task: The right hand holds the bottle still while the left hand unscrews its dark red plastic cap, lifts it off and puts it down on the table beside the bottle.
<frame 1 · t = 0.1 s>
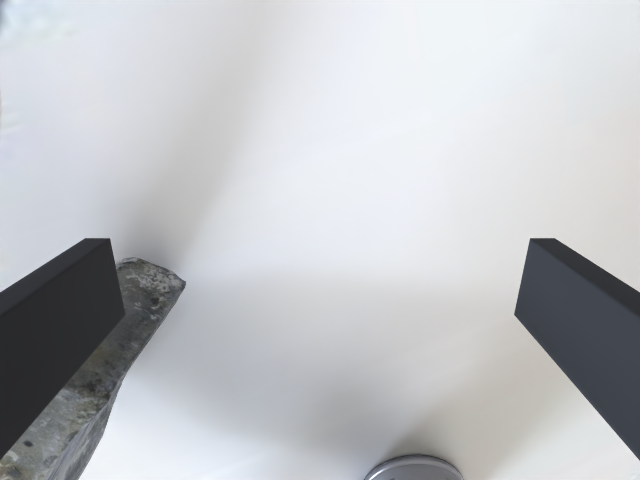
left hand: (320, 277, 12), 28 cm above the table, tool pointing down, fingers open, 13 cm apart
concrete block: (122, 335, 47), on the table
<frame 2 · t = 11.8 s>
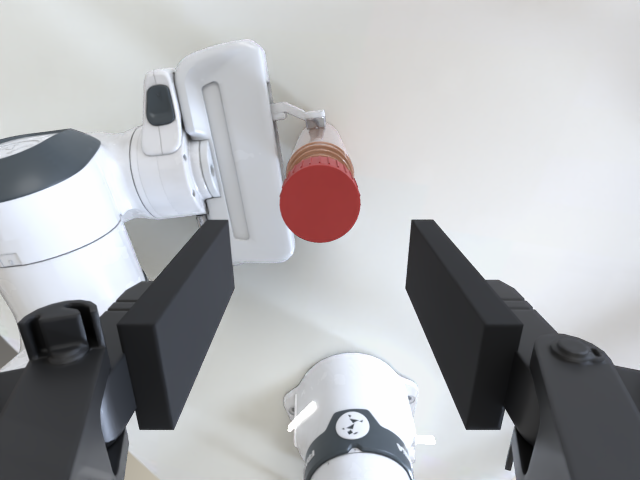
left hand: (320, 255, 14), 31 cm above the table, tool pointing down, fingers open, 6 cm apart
right hand: (329, 151, 36), fingers closed on bottle, 5 cm apart
bottle: (319, 143, 43), on the table, touching right hand
cap: (319, 203, 20), point 24 cm above the table, screwed on, not yet turned
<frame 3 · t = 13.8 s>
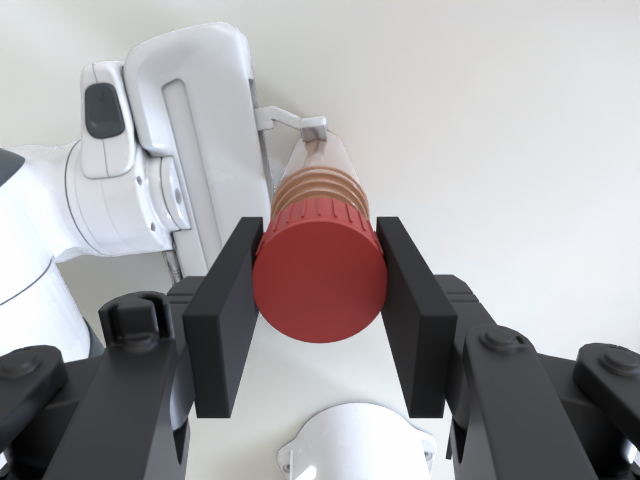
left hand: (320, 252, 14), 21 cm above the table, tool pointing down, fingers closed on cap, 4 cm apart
right hand: (332, 169, 28), fingers closed on bottle, 5 cm apart
bottle: (319, 157, 34), on the table, touching right hand
cap: (319, 281, 12), point 24 cm above the table, screwed on, not yet turned, touching left hand
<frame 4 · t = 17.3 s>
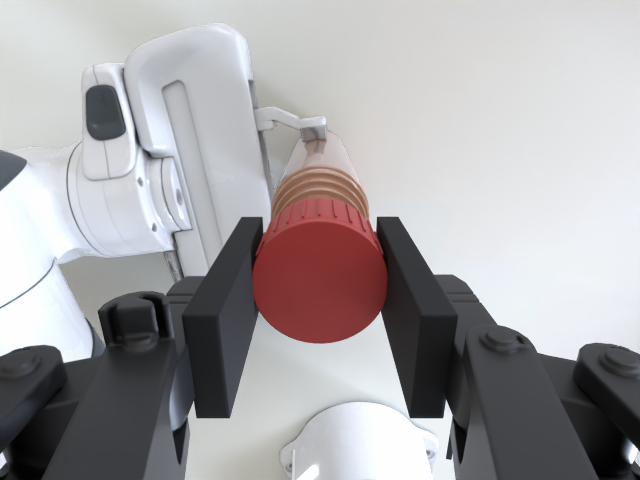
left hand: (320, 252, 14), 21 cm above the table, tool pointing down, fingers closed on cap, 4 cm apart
right hand: (331, 169, 28), fingers closed on bottle, 5 cm apart
bottle: (319, 157, 34), on the table, touching right hand
cap: (319, 281, 12), point 24 cm above the table, turned 106° so far, risen 0.1 cm, still on its thread, touching left hand
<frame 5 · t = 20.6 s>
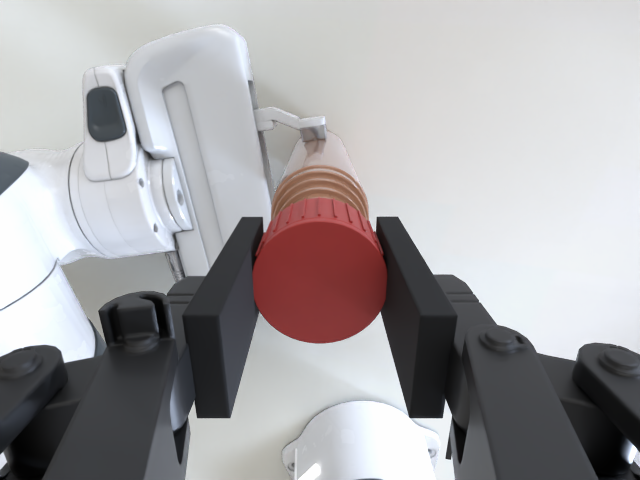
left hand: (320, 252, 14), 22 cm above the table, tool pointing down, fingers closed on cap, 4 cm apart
right hand: (331, 169, 28), fingers closed on bottle, 5 cm apart
bottle: (319, 156, 34), on the table, touching right hand
cap: (319, 281, 12), point 24 cm above the table, turned 213° so far, risen 0.2 cm, still on its thread, touching left hand
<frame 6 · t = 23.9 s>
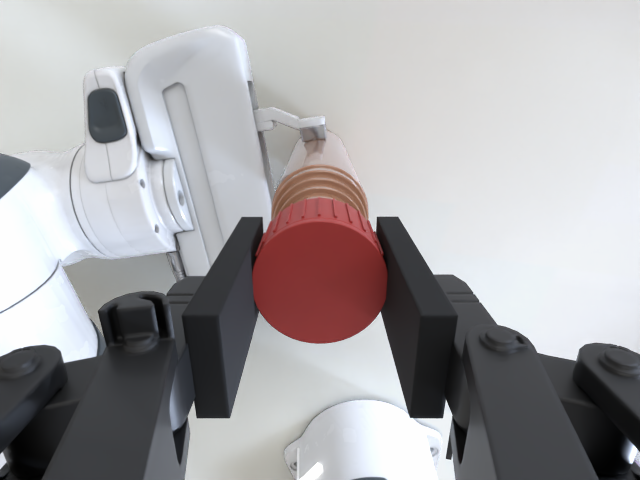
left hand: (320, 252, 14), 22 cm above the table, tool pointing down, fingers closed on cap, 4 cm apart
right hand: (331, 168, 28), fingers closed on bottle, 5 cm apart
bottle: (319, 156, 35), on the table, touching right hand
cap: (319, 281, 12), point 24 cm above the table, turned 319° so far, risen 0.4 cm, still on its thread, touching left hand
when the left hand's fingers open (1 cm above the table, at t = 31.6 s): cap drops 2 cm, point 2 cm above the table.
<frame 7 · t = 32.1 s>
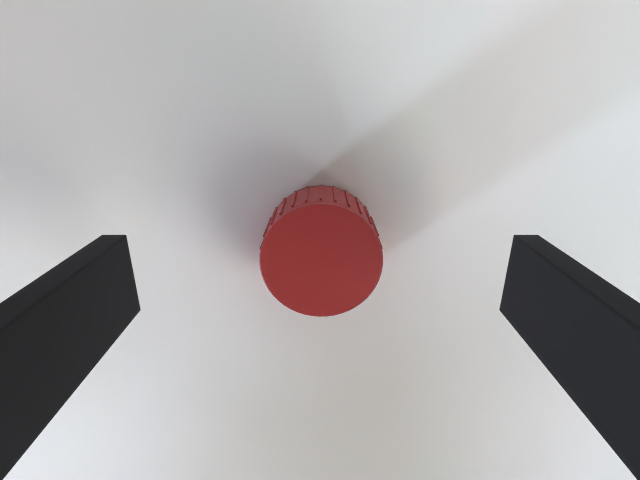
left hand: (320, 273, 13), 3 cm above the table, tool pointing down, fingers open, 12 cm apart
cap: (321, 260, 14), point 2 cm above the table, off its thread
when the right hand's fingers open (7 cm above the table, at t = 32.9 s): bottle stays where it is, on the table.
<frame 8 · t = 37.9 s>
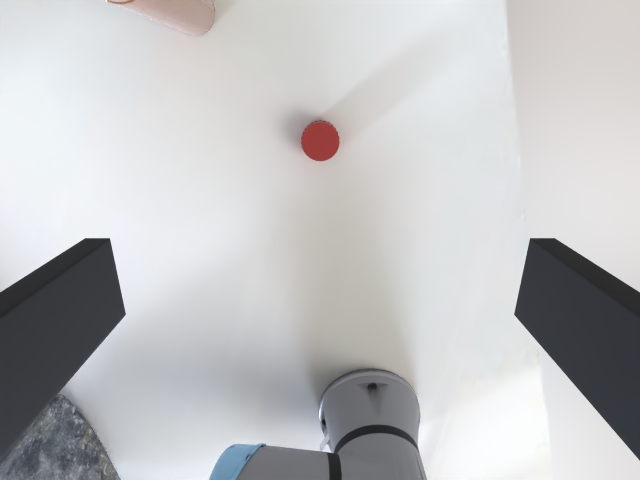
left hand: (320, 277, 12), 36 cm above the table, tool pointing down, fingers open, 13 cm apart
bottle: (192, 11, 41), on the table
concrete block: (89, 443, 63), on the table
cap: (320, 141, 44), point 2 cm above the table, off its thread
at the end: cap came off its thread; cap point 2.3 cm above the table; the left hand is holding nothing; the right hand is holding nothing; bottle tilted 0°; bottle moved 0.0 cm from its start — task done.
